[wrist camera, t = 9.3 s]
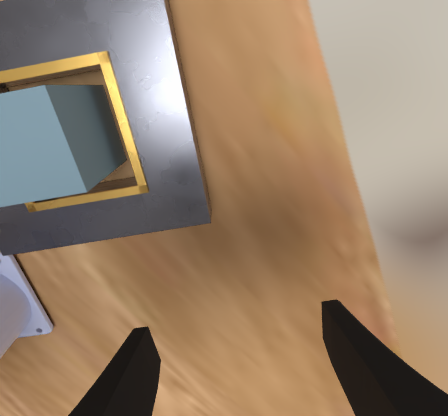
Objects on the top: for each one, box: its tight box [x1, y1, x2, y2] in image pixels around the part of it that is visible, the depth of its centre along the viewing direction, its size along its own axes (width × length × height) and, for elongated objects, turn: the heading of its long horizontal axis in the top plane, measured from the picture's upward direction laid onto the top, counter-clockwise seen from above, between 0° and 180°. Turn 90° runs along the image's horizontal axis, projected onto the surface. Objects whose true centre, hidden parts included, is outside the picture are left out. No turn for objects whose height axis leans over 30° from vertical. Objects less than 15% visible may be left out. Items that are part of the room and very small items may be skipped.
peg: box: [0, 85, 127, 207], centre depth 15 cm, size 4×4×6 cm
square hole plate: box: [0, 0, 212, 256], centre depth 16 cm, size 14×13×2 cm
